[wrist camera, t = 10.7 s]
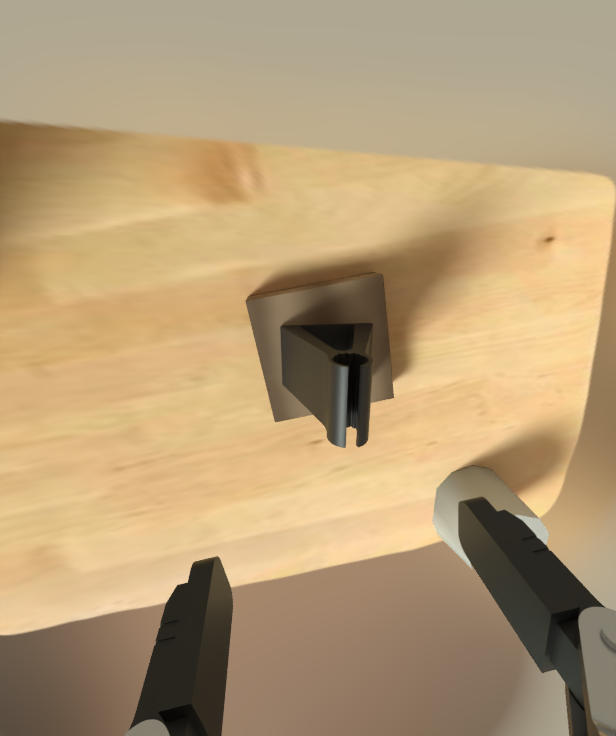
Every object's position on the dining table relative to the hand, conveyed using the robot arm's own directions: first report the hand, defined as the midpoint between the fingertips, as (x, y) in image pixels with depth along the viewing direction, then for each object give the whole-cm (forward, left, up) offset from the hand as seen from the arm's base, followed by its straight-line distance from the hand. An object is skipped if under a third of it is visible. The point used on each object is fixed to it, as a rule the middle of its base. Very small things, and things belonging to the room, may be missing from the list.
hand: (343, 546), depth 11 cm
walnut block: (+3, -1, -26) cm, 26 cm away
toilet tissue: (+18, -28, -26) cm, 42 cm away
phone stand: (+3, -1, -23) cm, 23 cm away
